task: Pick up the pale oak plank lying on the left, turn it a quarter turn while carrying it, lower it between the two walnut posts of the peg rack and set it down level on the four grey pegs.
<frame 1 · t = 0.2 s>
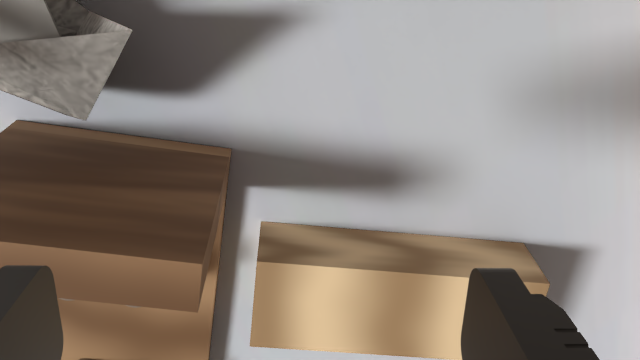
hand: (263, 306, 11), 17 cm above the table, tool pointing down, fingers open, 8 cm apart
shelf board: (386, 268, 32), on the table
peg rack: (121, 304, 32), on the table
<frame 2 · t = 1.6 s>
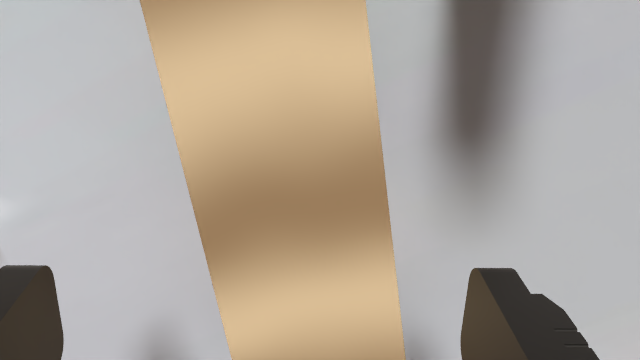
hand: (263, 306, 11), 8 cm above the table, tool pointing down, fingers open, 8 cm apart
shelf board: (294, 154, 19), on the table
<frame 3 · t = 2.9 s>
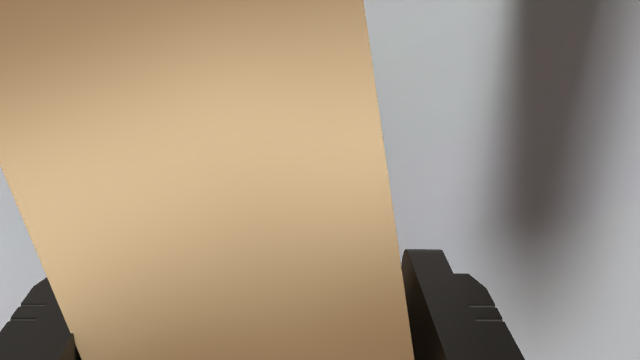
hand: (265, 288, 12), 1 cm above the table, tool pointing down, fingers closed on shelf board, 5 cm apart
shelf board: (266, 254, 13), on the table, touching gripper
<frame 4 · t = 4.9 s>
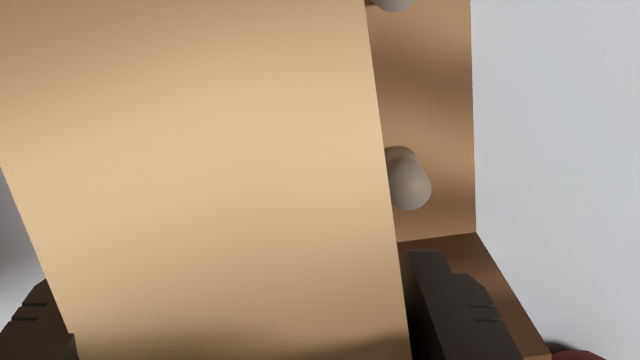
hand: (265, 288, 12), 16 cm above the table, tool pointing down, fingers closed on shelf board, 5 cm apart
shelf board: (265, 253, 13), point 15 cm above the table, touching gripper
peg rack: (353, 77, 26), on the table
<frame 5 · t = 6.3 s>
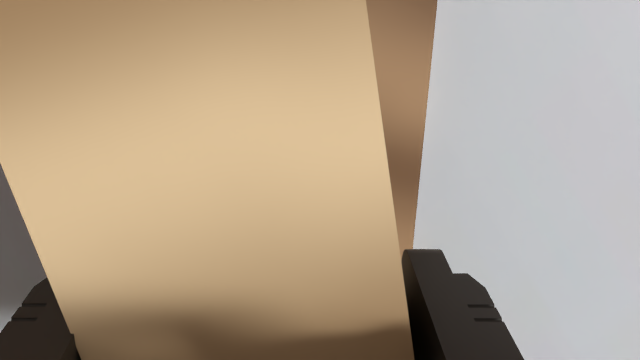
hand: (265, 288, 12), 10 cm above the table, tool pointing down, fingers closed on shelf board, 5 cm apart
shelf board: (266, 252, 13), point 8 cm above the table, touching gripper
peg rack: (276, 142, 21), on the table
when the fingers open (6 cm above the table, at t = 7.8 s): shelf board stays where it is, resting on peg rack.
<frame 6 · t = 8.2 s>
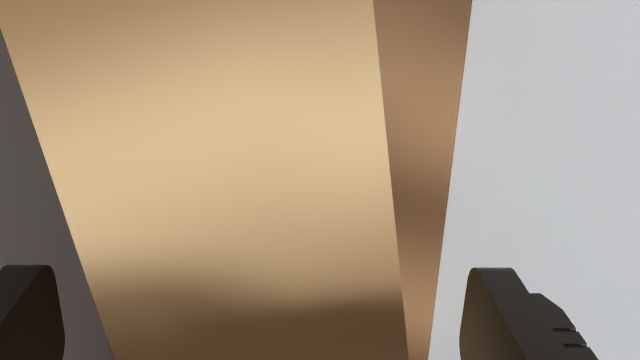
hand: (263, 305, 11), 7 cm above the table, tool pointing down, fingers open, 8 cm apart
shelf board: (268, 234, 14), point 4 cm above the table, touching peg rack
peg rack: (273, 176, 18), on the table
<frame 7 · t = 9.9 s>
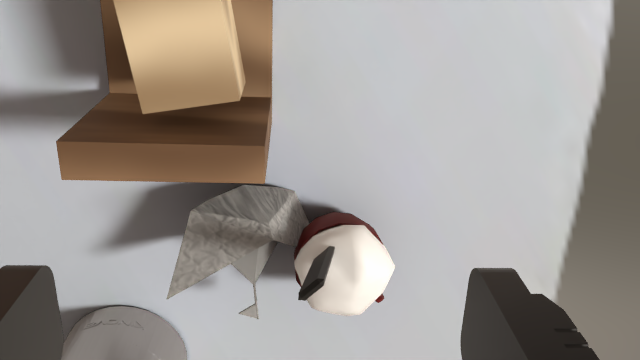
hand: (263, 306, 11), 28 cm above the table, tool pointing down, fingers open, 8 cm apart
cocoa: (331, 236, 42), on the table, touching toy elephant
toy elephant: (246, 228, 42), on the table, touching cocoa
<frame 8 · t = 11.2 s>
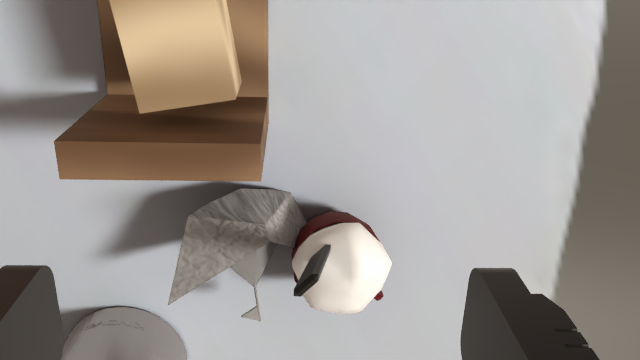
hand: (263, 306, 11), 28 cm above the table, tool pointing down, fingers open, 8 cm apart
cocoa: (329, 236, 43), on the table, touching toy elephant
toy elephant: (245, 232, 43), on the table, touching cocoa
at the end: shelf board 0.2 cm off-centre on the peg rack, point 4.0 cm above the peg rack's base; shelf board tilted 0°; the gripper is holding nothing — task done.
